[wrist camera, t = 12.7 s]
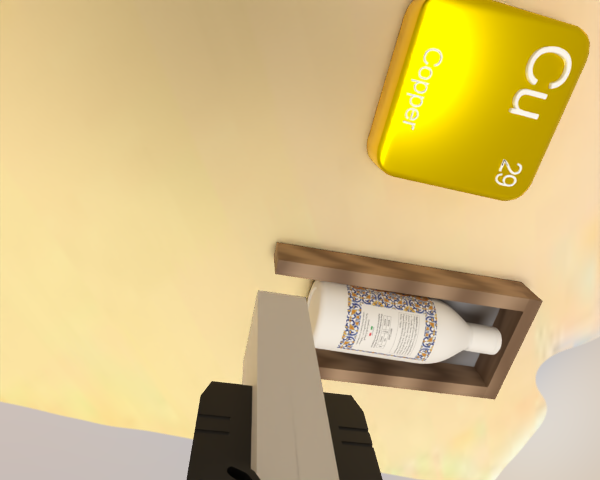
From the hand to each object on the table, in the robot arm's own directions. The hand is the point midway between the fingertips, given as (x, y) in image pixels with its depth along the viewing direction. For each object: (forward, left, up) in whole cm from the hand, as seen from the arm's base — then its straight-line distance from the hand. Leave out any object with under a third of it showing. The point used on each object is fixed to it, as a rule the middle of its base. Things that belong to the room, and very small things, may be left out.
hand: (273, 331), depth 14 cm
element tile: (+17, +7, -30) cm, 35 cm away
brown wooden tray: (+17, -16, -29) cm, 37 cm away
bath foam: (+7, -14, -25) cm, 30 cm away
